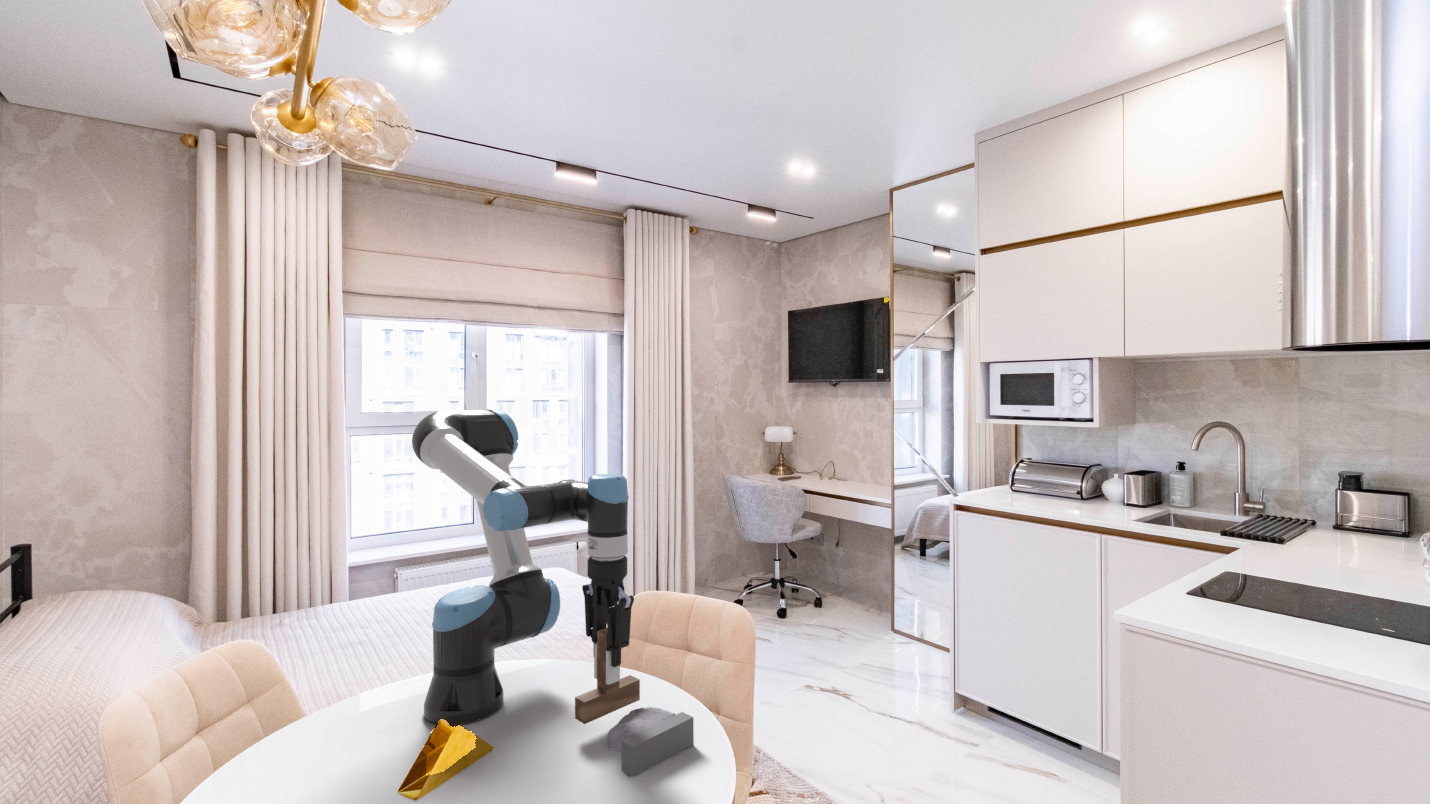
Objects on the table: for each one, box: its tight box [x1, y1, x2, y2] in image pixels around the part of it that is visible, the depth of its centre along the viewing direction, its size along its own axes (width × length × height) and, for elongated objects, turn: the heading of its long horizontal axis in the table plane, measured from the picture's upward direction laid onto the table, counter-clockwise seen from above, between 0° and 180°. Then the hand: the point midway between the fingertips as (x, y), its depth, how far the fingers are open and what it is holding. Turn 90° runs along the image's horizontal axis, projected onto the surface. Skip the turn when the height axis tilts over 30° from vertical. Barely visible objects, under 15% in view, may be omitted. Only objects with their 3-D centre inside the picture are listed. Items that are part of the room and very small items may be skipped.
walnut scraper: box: [574, 627, 641, 725], centre depth 123 cm, size 3×13×15 cm, turn 137°
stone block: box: [607, 706, 677, 752], centre depth 119 cm, size 12×5×10 cm
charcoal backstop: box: [620, 711, 695, 778], centre depth 112 cm, size 3×14×5 cm, turn 136°
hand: (606, 678), depth 122 cm, fingers closed on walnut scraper, 3 cm apart
